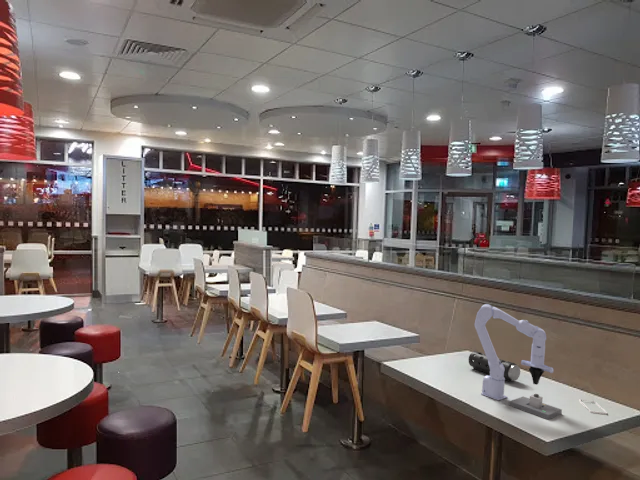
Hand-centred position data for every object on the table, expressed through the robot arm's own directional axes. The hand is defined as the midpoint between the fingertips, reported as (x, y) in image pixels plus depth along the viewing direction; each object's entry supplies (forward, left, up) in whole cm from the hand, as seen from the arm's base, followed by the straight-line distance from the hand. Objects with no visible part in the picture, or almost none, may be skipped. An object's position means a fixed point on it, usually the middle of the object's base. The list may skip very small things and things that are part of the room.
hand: (535, 383), depth 222 cm
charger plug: (+4, -7, -10) cm, 13 cm away
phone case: (+17, +21, -10) cm, 29 cm away
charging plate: (+4, -7, -9) cm, 12 cm away
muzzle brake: (-35, +22, -10) cm, 42 cm away
